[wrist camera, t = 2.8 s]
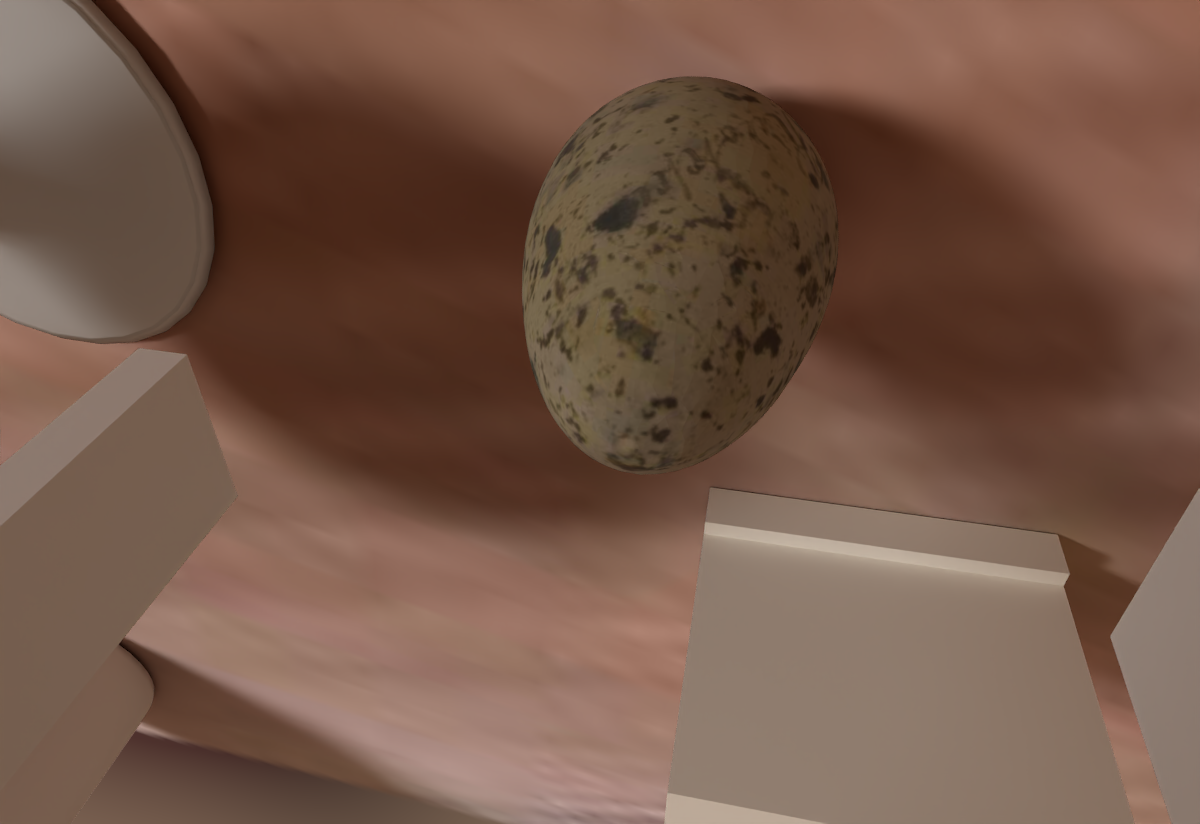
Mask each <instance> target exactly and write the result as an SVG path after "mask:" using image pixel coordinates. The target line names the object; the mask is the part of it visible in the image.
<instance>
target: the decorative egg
mask: <svg viewBox="0 0 1200 824" xmlns="http://www.w3.org/2000/svg"><path fill="white" fill-rule="evenodd" d="M837 257H838V217H837V209H836V203H835V197H834V193H833V189H832V185H831V182H830V179H829V176H828V173H827V171H826V168H825V166H824V163H823V161H822V159H821V157H820V155H819V153H818V152H817V150H816V148H815V147H814V145H813V143H812V142H811V140H810V139H809V137H808V136H807V135H806V133H805V132H804V131H803V130H802V128H801V127H800V126H799V125H798V124H797V122H796V121H795V120H794V119H793V118H792V117H791V116H790V115H789V114H788V113H786V112H785V111H784V110H783V109H782V108H780V107H779V106H778V105H777V104H775V103H774V102H772V101H771V100H769V99H768V98H766V97H765V96H763V95H762V94H760V93H758V92H756V91H754V90H752V89H750V88H748V87H745V86H742V85H740V84H737V83H733V82H730V81H727V80H723V79H717V78H711V77H676V78H669V79H663V80H658V81H655V82H652V83H649V84H645V85H642V86H640V87H637V88H635V89H632V90H630V91H628V92H626V93H624V94H622V95H621V96H619V97H617V98H615V99H614V100H612V101H610V102H609V103H607V104H606V105H604V106H603V107H602V108H600V109H599V110H598V111H597V112H595V113H594V114H593V115H592V116H591V117H589V118H588V119H587V120H586V121H585V122H584V123H583V124H582V125H581V126H580V127H579V128H578V129H577V131H576V132H575V133H574V134H573V135H572V136H571V138H570V139H569V140H568V141H567V143H566V144H565V145H564V147H563V148H562V150H561V151H560V153H559V154H558V156H557V157H556V159H555V161H554V162H553V164H552V166H551V168H550V170H549V172H548V174H547V176H546V178H545V180H544V182H543V185H542V187H541V189H540V192H539V194H538V197H537V199H536V202H535V206H534V209H533V212H532V216H531V219H530V223H529V228H528V232H527V237H526V242H525V250H524V260H523V272H522V304H523V317H524V327H525V335H526V342H527V348H528V353H529V358H530V362H531V366H532V370H533V373H534V376H535V379H536V382H537V385H538V387H539V390H540V393H541V395H542V397H543V399H544V401H545V404H546V406H547V407H548V409H549V411H550V413H551V415H552V416H553V418H554V419H555V421H556V423H557V424H558V426H559V427H560V428H561V429H562V431H563V432H564V433H565V434H566V435H567V437H568V438H569V439H570V440H571V441H572V442H573V444H574V445H575V446H576V447H578V448H579V449H580V450H581V451H583V452H584V453H585V454H586V455H588V456H589V457H591V458H592V459H594V460H596V461H597V462H599V463H601V464H603V465H605V466H608V467H611V468H613V469H616V470H618V471H622V472H628V473H634V474H661V473H667V472H672V471H678V470H681V469H683V468H686V467H689V466H692V465H695V464H697V463H699V462H701V461H704V460H706V459H708V458H709V457H711V456H713V455H715V454H716V453H718V452H720V451H721V450H723V449H724V448H726V447H728V446H729V445H730V444H732V443H733V442H734V441H736V440H737V439H738V438H740V437H741V436H742V435H743V434H744V433H746V432H747V431H748V430H749V429H750V428H751V427H752V426H753V425H754V424H755V423H756V422H757V421H758V420H759V419H760V418H761V417H762V416H763V415H764V414H765V413H766V412H767V411H768V410H769V408H770V407H771V406H772V405H773V404H774V402H775V401H776V400H777V399H778V397H779V396H780V394H781V393H782V391H783V390H784V388H785V387H786V385H787V384H788V382H789V381H790V379H791V378H792V377H793V375H794V373H795V372H796V370H797V369H798V367H799V366H800V364H801V362H802V360H803V359H804V357H805V355H806V354H807V352H808V350H809V348H810V346H811V344H812V342H813V340H814V338H815V336H816V333H817V331H818V329H819V326H820V324H821V322H822V319H823V316H824V313H825V311H826V308H827V305H828V302H829V298H830V295H831V292H832V287H833V282H834V277H835V271H836V265H837Z"/></svg>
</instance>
